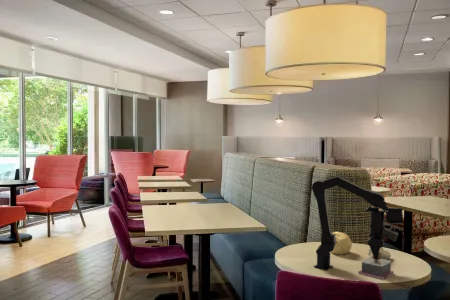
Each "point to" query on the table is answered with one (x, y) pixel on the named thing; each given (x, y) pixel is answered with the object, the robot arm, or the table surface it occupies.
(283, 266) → the table surface
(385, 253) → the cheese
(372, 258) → the plunger
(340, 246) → the sculpture
